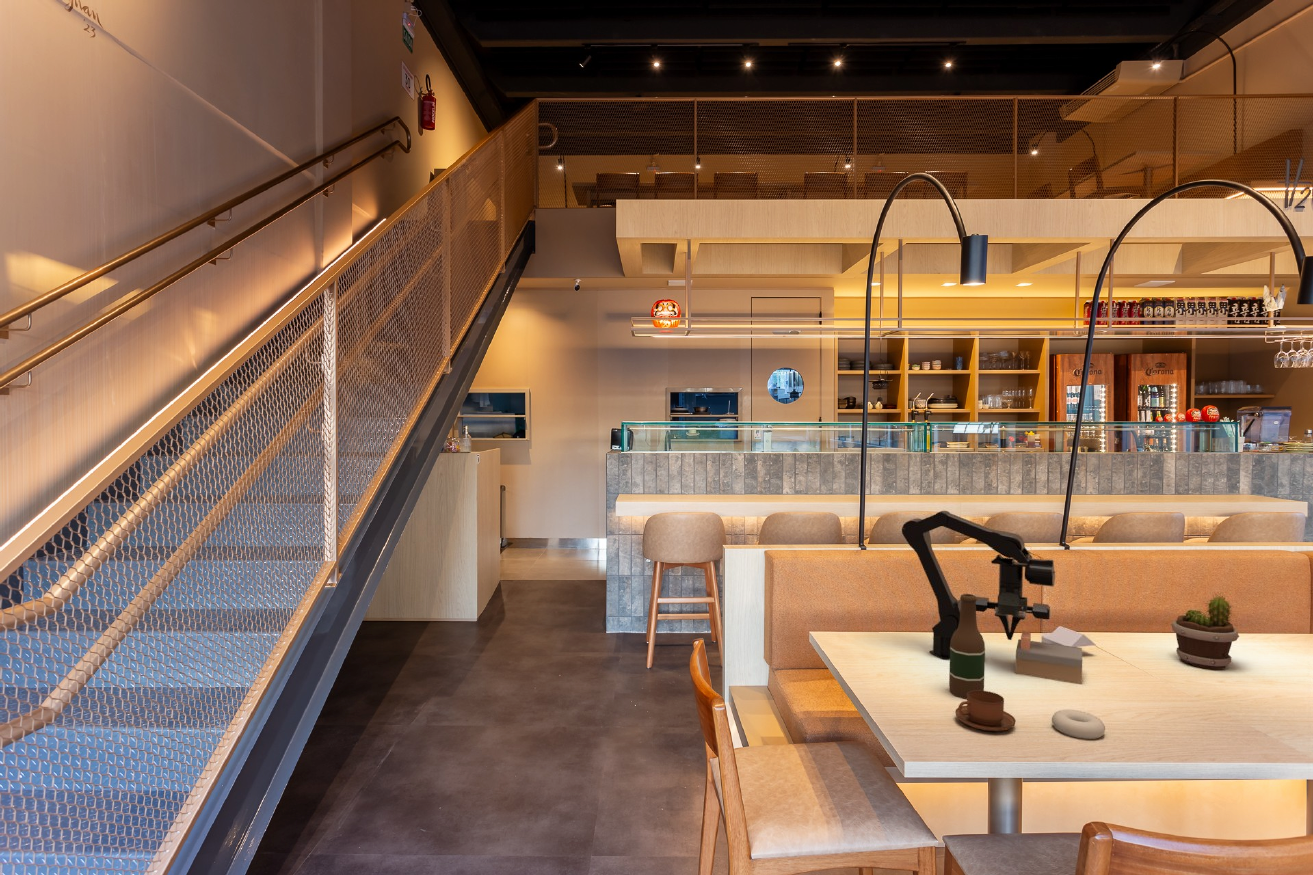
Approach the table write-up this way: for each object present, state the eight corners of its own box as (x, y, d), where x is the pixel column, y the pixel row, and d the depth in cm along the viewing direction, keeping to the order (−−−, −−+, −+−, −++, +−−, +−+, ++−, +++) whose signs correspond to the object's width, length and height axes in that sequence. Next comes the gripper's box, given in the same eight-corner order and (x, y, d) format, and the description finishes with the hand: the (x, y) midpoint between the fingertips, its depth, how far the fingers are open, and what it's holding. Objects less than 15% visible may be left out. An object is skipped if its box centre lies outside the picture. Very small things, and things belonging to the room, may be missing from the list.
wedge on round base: (1095, 656, 210) (1059, 642, 222) (1096, 633, 210) (1059, 620, 222) (1069, 659, 207) (1034, 645, 220) (1070, 635, 207) (1034, 622, 220)
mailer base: (1015, 673, 195) (1016, 653, 195) (1017, 662, 204) (1018, 643, 204) (1081, 683, 188) (1082, 662, 188) (1081, 672, 197) (1081, 652, 197)
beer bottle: (982, 690, 183) (984, 592, 182) (985, 701, 176) (987, 600, 175) (948, 686, 186) (950, 590, 185) (949, 697, 178) (951, 597, 178)
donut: (1070, 719, 167) (1041, 726, 162) (1071, 704, 167) (1041, 710, 162) (1115, 737, 158) (1085, 745, 153) (1116, 720, 158) (1086, 728, 153)
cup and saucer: (989, 740, 155) (990, 711, 155) (943, 719, 166) (943, 691, 166) (1027, 729, 161) (1028, 701, 161) (980, 709, 171) (981, 683, 171)
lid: (1015, 657, 194) (1016, 639, 194) (1018, 645, 205) (1018, 628, 204) (1082, 667, 187) (1082, 648, 187) (1081, 654, 197) (1082, 636, 197)
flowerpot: (1179, 668, 200) (1181, 594, 199) (1164, 652, 214) (1166, 582, 214) (1245, 676, 195) (1248, 600, 194) (1226, 658, 209) (1228, 587, 208)
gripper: (969, 583, 197) (968, 642, 198) (1049, 591, 188) (1048, 653, 189) (974, 575, 207) (973, 631, 208) (1050, 583, 198) (1049, 641, 199)
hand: (1009, 639), depth 200 cm, fingers closed
